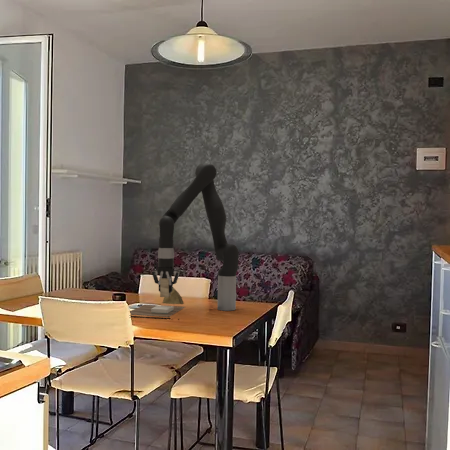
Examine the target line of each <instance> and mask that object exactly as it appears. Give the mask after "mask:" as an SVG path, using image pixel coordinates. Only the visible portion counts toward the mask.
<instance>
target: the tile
mask: <svg viewBox="0 0 450 450" xmlns="http://www.w3.org/2000/svg"><path fill="white" fill-rule="evenodd" d="M174 306H175V305H163V304H162V305H161V304H159V305H158V306H156V307H154V308H152V309H151V312H152V313H163V314H168V313H169V312H171V311H173V310H174Z"/></svg>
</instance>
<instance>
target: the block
mask: <svg viewBox="0 0 450 450" xmlns="http://www.w3.org/2000/svg"><path fill="white" fill-rule="evenodd" d="M159 278H160V277H159ZM159 293H160V296H159V297H160V298H164V297H170V296H171V293H169V279H167V278H160V291H159Z"/></svg>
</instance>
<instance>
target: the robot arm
mask: <svg viewBox="0 0 450 450" xmlns="http://www.w3.org/2000/svg"><path fill="white" fill-rule="evenodd" d="M194 171H195V178H194V179H193V180H192V182H191V183H190V184H189V186H188V187H187V188H186V189H184V190H183V191H182V192H181V193H180V194H179V195H178V196H177V198H176V199H175V200H174V202H172V204H171V205H170V207H169V208H168V210H167V211H165V213H164V214H163V215H162V217H160V218H159V221H158V225H159V238H158V252H157V269H156V270H153V271H152V272H151V274H152V277H153V278H152V279H153V280H154V283H155V284H157V285H158V292H160V278H167V279H169V293H171V292H172V291H173V287H174V285H175V284H177V283H178V280H179V277H180V271H176V270H175V268H174V267H175V264H174V263H175V260H174V259H175V254H174V253H175V251H174V233H175V232H174V230H175V224H176V222H177V221H178V220H179V218H181V216H182V215H183V214H184V213H185V212H186V211H187V210H188V208H189V207H190V206H191V204H192V203H193V201H194V200H195V199H196V198H197V197H198V196H199V194H200V193H201V194H202V199H203V204H204V209H205V214H206V217H207V221H208V224H209V227H210V232H211V236H212V242H213V247H214V254H215V257H216V259H217V260H218V261H220V262H222V267H221V268H220V269H218V270H217V310H218V311H222V312H224V311H225V312H227V311H229V312H230V311H235V310H236V309H237V307H236V304H237V303H236V302H237V298H236V297H237V296H236V295H237V292H236V291H237V272H238V271H239V270H238V269H239V257H240V255H239V248H238V247H237V246H236V245H235V244H231V243H228V241H227V238H226V233H225V231H226V230H225V229H226V225H227V214H226V210H225V207H224V203H223V201H222V199H221V197H220V195H219V194H218V191H217V189H216V186H215V181H214V180H215V179H216V177H217V173H218V172H217V168H216V166H214V165H213V164H211V163H209V162H207V163H205V162H203V163H199V164H198V165H197V166H196V168H195V170H194ZM158 275H159V278H158ZM173 275H174V278H173V277H172V276H173Z"/></svg>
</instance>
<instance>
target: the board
mask: <svg viewBox="0 0 450 450" xmlns="http://www.w3.org/2000/svg"><path fill="white" fill-rule="evenodd" d="M156 306H158V305H157V304H143V305H141V306H138V307H136V308H134V309H132V310H130V313H131V315H130V316H131V317H130V318H132V319H133V318H137V319H153V320H167V319H169V320H171V318H172V317H171V316H173V315H175V314H176V313H178V312H180V311H181V310H183V309H185V308H186V306H178V305H176V306H175V305H173V306H174V310H173V311H171V312H169V313H168V314H163V313H152V312H151V309H152V308H154V307H156ZM170 317H171V318H170Z"/></svg>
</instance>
